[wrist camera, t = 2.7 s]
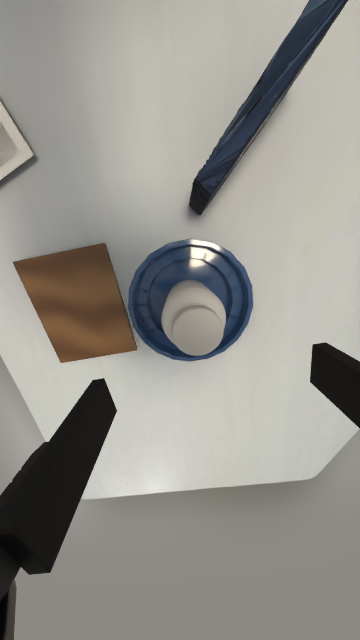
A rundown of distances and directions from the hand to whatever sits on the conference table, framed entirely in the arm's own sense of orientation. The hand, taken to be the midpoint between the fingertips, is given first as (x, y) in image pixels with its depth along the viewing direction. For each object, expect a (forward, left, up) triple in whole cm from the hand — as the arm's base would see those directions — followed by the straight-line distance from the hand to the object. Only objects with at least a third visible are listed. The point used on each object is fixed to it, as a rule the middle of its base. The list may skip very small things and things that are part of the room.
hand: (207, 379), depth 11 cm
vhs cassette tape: (-20, +10, -22) cm, 32 cm away
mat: (-2, -20, -22) cm, 30 cm away
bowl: (0, 0, -22) cm, 22 cm away
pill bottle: (0, 0, -22) cm, 22 cm away
